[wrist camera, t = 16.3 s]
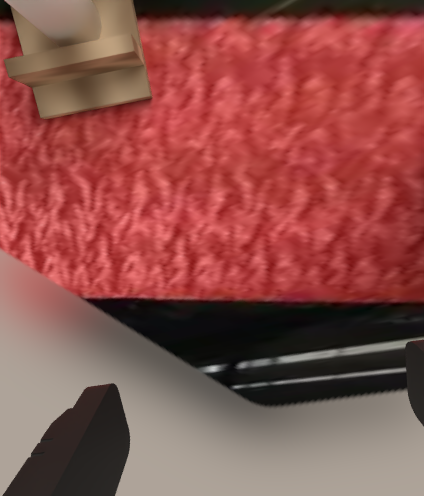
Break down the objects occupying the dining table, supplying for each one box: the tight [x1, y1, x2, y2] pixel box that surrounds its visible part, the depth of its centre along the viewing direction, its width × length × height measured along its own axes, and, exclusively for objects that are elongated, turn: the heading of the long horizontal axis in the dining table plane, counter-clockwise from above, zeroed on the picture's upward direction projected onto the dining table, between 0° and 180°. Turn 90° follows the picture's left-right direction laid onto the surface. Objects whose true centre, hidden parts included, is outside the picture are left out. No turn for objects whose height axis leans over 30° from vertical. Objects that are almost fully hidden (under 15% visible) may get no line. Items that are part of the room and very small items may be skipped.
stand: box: [4, 0, 152, 119], centre depth 32 cm, size 12×16×5 cm
